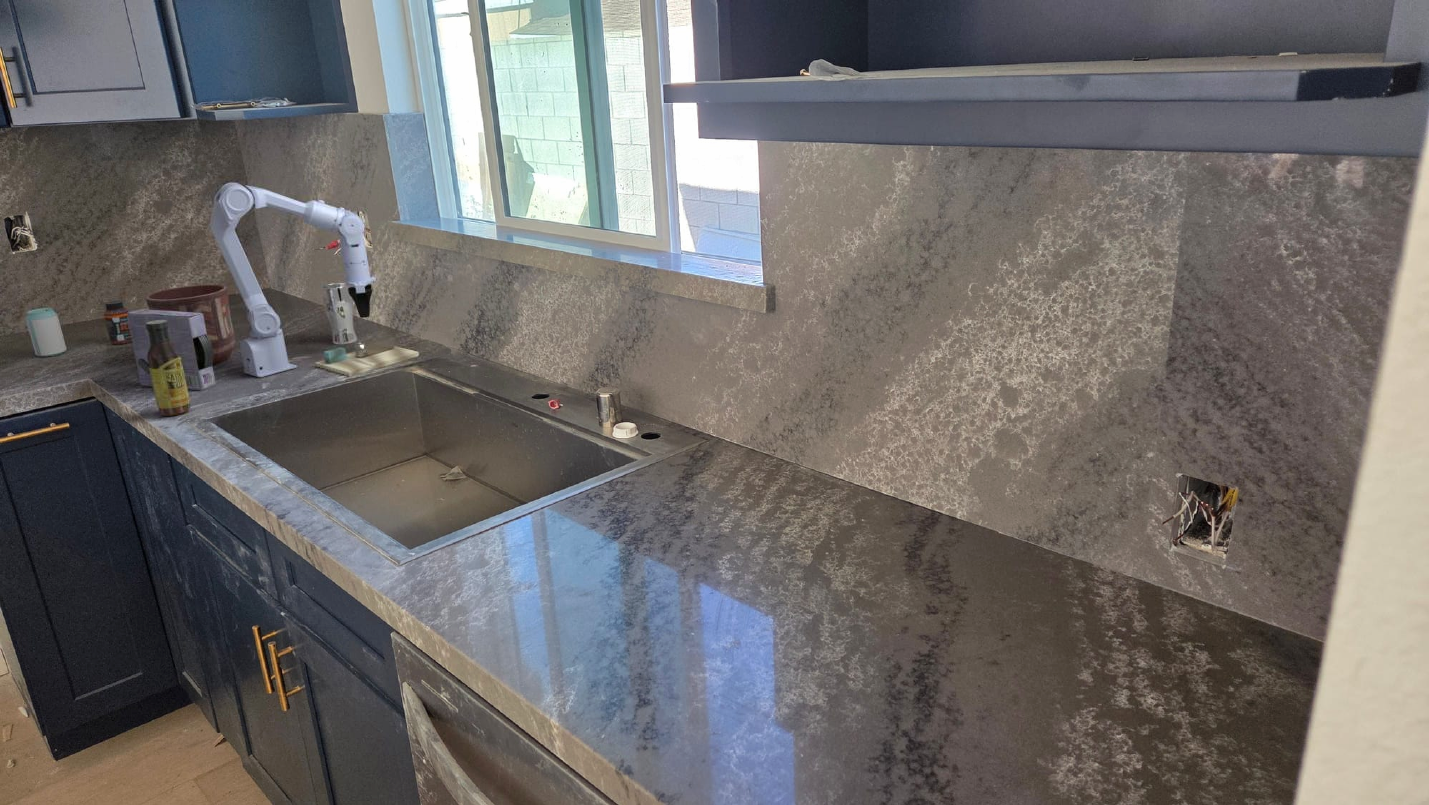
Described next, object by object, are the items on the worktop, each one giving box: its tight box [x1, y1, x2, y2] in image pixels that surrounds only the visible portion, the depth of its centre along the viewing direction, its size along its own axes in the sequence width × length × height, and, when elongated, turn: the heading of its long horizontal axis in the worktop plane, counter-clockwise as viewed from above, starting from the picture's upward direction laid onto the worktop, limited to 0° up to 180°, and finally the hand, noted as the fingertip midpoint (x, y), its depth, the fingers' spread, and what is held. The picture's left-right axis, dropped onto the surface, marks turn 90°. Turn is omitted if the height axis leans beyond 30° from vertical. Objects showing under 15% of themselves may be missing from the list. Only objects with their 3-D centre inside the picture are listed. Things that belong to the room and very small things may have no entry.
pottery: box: [146, 284, 236, 366], centre depth 249 cm, size 18×18×18 cm
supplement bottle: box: [103, 300, 133, 345], centre depth 273 cm, size 6×6×11 cm
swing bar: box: [353, 336, 395, 358], centre depth 246 cm, size 10×3×3 cm, turn 141°
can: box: [25, 307, 67, 357], centre depth 264 cm, size 7×7×12 cm
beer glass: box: [321, 282, 358, 345], centre depth 261 cm, size 7×7×15 cm
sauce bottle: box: [146, 320, 191, 417], centre depth 211 cm, size 7×6×20 cm
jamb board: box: [314, 345, 420, 377], centre depth 244 cm, size 19×15×4 cm
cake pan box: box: [127, 308, 217, 392], centre depth 230 cm, size 19×5×18 cm, turn 72°
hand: (364, 315), depth 249 cm, fingers closed
